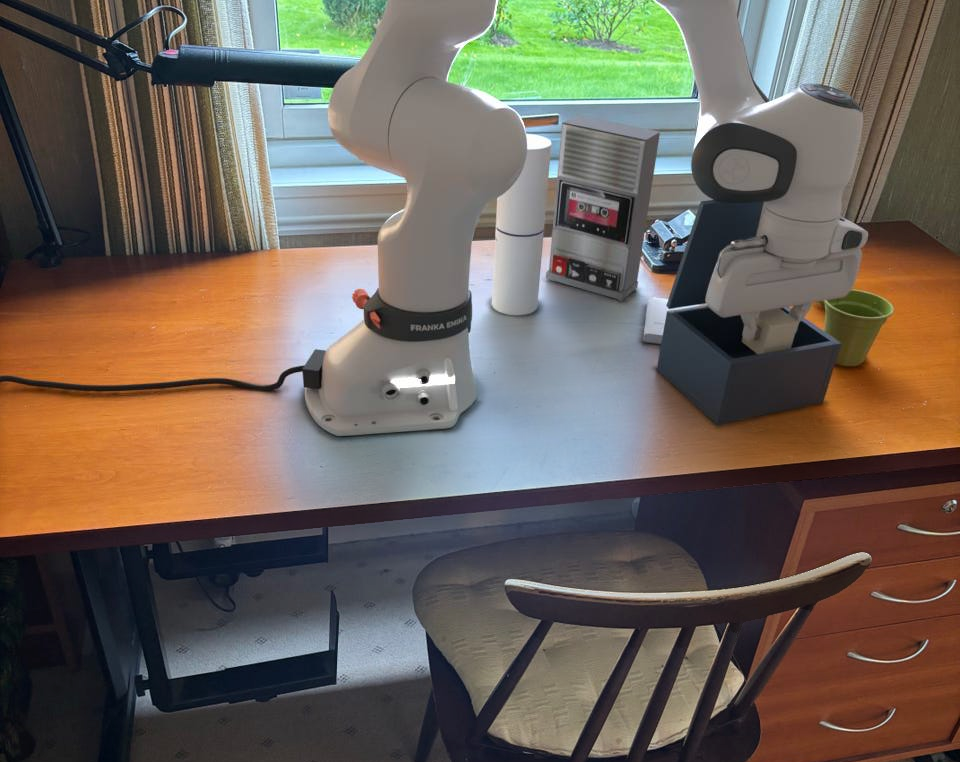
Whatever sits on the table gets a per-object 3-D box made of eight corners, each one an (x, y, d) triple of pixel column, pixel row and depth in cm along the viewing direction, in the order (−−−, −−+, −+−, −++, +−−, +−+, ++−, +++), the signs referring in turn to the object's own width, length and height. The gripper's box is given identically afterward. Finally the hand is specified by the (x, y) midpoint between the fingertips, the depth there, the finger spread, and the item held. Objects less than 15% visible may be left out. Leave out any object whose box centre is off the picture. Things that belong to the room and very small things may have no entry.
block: (789, 352, 117) (798, 321, 115) (761, 357, 116) (769, 326, 113) (769, 336, 121) (776, 306, 118) (741, 341, 119) (748, 311, 116)
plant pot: (800, 340, 137) (815, 287, 131) (862, 342, 137) (879, 289, 132) (819, 372, 129) (836, 316, 124) (885, 374, 129) (904, 319, 124)
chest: (823, 402, 122) (841, 343, 117) (716, 425, 117) (731, 363, 112) (756, 350, 133) (770, 294, 128) (656, 369, 128) (666, 310, 123)
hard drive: (699, 312, 143) (698, 349, 133) (646, 305, 144) (642, 342, 134) (701, 302, 142) (700, 339, 132) (648, 296, 143) (644, 332, 133)
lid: (816, 191, 116) (794, 171, 119) (703, 204, 110) (683, 182, 113) (773, 293, 128) (753, 272, 131) (668, 309, 122) (651, 287, 125)
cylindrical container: (506, 318, 138) (516, 151, 123) (483, 299, 143) (491, 136, 128) (546, 310, 141) (561, 145, 126) (522, 291, 146) (534, 131, 131)
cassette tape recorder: (544, 280, 150) (558, 123, 135) (561, 268, 154) (577, 114, 139) (621, 302, 144) (644, 141, 129) (637, 289, 149) (661, 131, 134)
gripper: (738, 252, 103) (714, 359, 112) (880, 232, 110) (847, 335, 118) (707, 231, 108) (686, 336, 116) (844, 213, 114) (816, 313, 123)
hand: (769, 335), depth 117 cm, fingers closed on block, 4 cm apart
